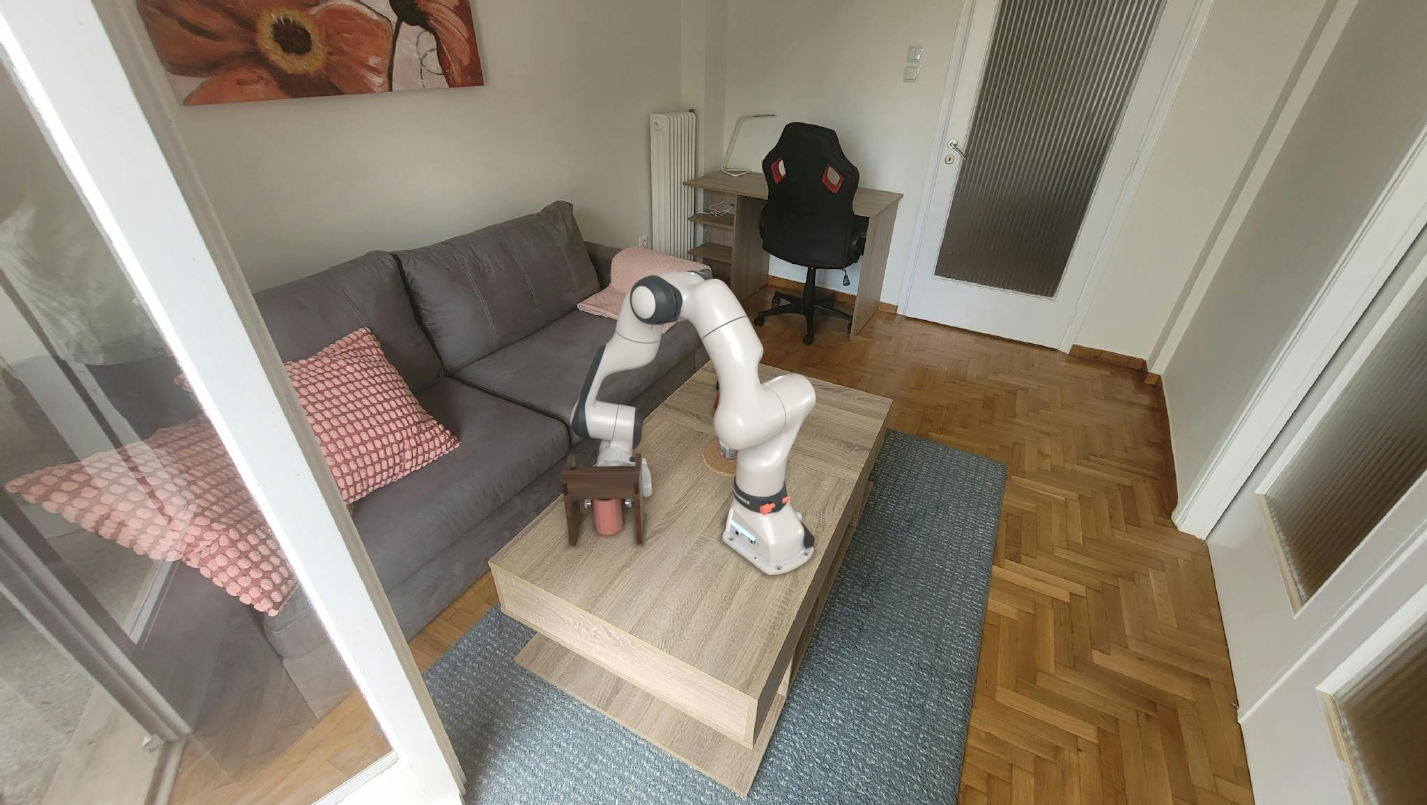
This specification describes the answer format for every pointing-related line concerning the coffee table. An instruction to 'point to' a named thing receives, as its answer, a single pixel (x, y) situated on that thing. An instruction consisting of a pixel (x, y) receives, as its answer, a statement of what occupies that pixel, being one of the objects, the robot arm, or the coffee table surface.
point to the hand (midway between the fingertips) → (608, 505)
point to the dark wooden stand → (601, 490)
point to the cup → (607, 515)
